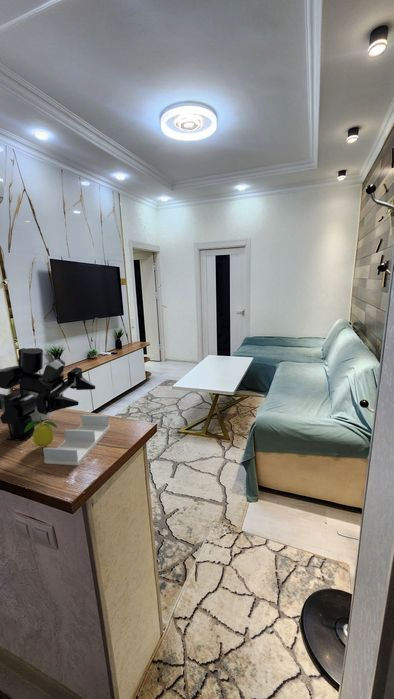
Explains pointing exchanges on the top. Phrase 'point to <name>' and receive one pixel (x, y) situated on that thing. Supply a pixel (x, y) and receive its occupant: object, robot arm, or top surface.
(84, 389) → the robot arm
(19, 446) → the top surface
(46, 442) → the lemon
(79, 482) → the top surface
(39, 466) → the top surface
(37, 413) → the cup
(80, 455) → the white divided tray
